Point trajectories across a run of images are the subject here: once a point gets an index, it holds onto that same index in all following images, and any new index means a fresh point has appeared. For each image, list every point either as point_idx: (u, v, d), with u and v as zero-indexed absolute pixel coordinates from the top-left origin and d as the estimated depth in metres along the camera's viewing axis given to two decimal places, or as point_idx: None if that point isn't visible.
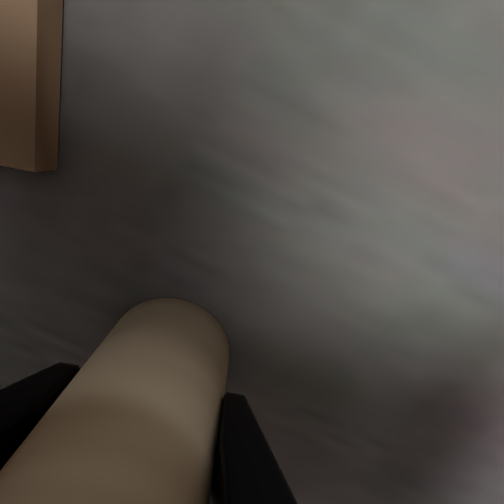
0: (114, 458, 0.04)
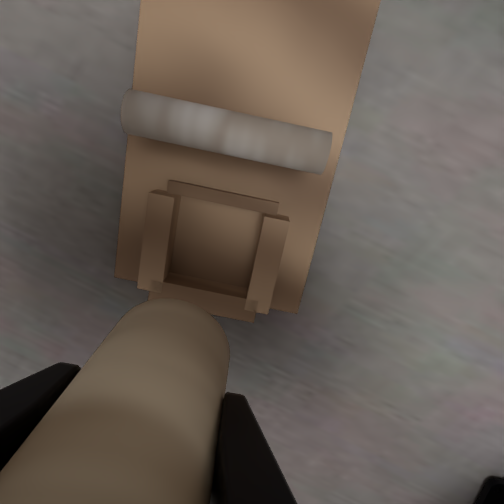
0: (113, 461, 0.04)
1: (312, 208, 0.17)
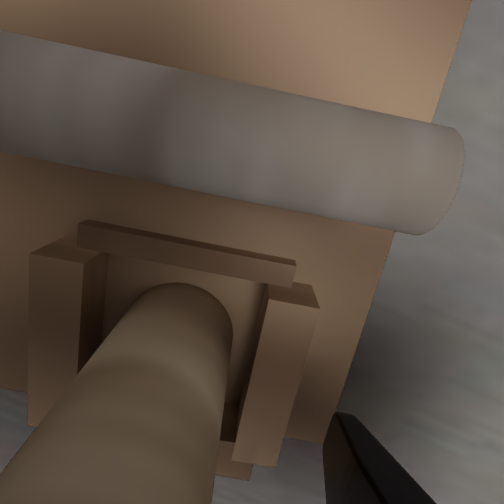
0: (142, 402, 0.05)
1: (357, 271, 0.09)
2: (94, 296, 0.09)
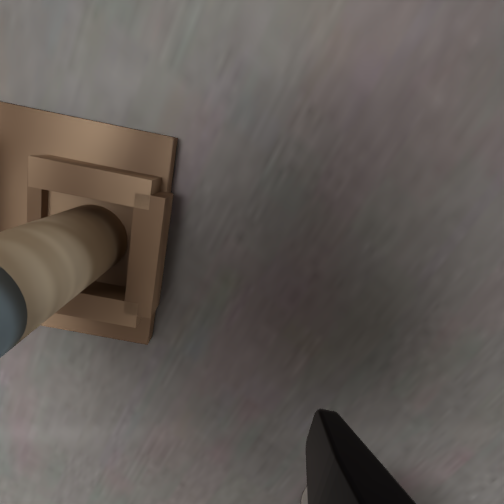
0: None
1: (34, 124, 0.14)
2: None
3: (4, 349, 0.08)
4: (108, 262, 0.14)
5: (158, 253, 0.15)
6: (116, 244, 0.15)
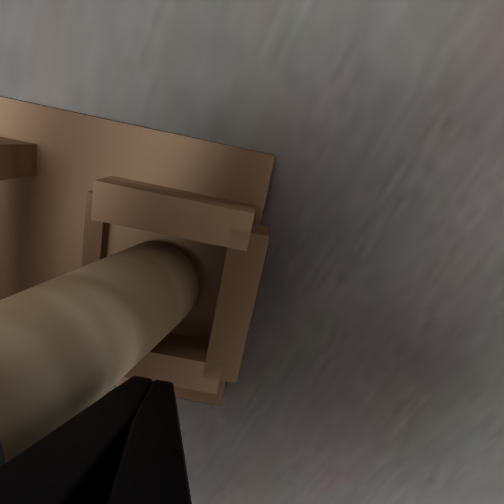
0: None
1: (96, 137, 0.11)
2: None
3: None
4: (169, 327, 0.10)
5: (253, 304, 0.11)
6: (183, 300, 0.11)
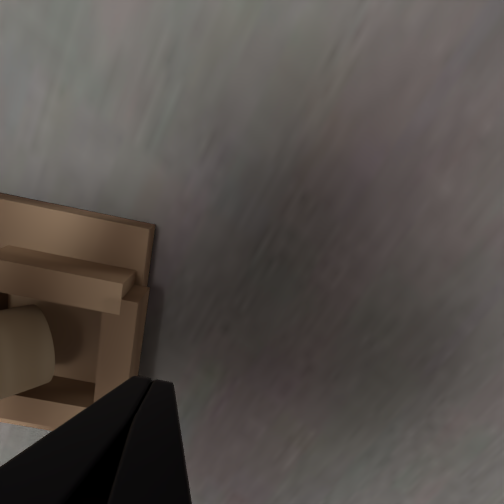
0: None
1: None
2: None
3: None
4: None
5: (131, 359, 0.13)
6: (14, 369, 0.11)
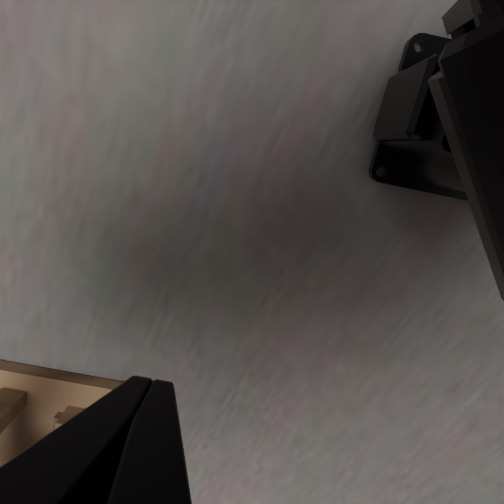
0: None
1: (58, 388, 0.21)
2: None
3: None
4: None
5: None
6: None
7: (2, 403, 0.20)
